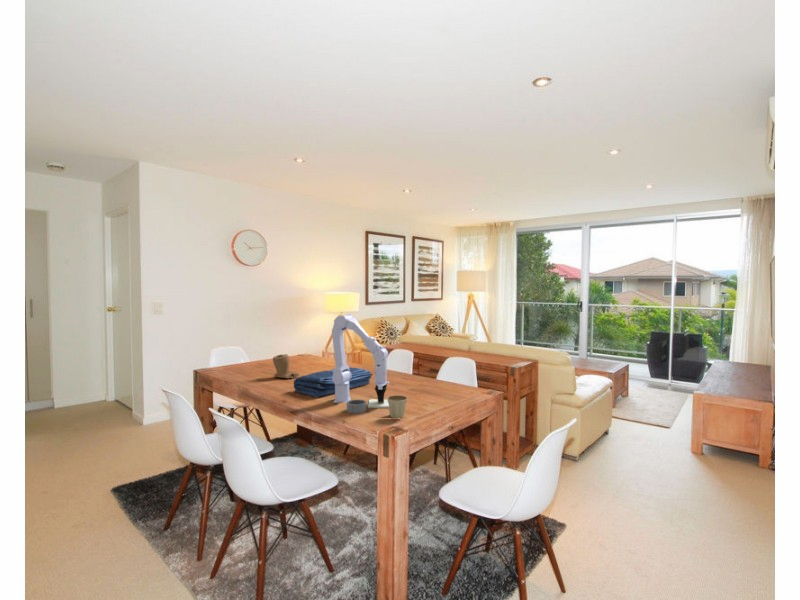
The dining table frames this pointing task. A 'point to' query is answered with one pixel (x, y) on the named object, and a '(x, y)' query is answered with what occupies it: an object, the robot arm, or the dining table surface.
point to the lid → (378, 403)
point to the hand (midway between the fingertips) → (380, 400)
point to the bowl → (356, 406)
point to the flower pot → (397, 405)
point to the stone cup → (283, 367)
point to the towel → (328, 382)
